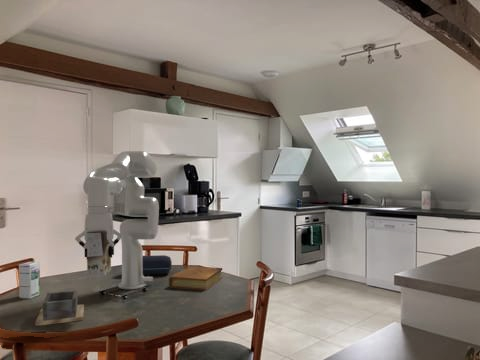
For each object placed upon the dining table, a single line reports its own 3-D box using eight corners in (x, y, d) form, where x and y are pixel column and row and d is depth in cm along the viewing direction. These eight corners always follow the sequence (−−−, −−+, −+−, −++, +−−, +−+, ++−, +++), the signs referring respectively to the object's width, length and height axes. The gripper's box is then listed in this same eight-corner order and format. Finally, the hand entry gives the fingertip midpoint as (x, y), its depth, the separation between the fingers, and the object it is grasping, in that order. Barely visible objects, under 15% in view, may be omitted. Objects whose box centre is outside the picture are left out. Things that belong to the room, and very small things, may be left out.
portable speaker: (172, 271, 208) (172, 253, 208) (170, 276, 198) (170, 257, 198) (126, 272, 206) (126, 254, 206) (121, 277, 196) (121, 258, 196)
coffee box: (105, 276, 136) (104, 232, 136) (86, 277, 136) (86, 232, 135) (111, 270, 145) (111, 228, 145) (94, 270, 145) (93, 228, 144)
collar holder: (84, 307, 148) (83, 288, 149) (82, 320, 134) (82, 299, 135) (41, 312, 143) (41, 293, 143) (35, 326, 129) (35, 304, 129)
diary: (188, 277, 198) (188, 266, 198) (222, 279, 193) (222, 268, 193) (168, 288, 176) (168, 276, 176) (206, 291, 171) (206, 278, 171)
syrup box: (30, 298, 160) (30, 264, 160) (18, 298, 161) (18, 264, 161) (40, 294, 166) (40, 261, 166) (28, 294, 167) (28, 261, 167)
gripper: (122, 208, 147) (123, 254, 147) (73, 210, 141) (74, 257, 141) (124, 210, 140) (124, 258, 140) (72, 212, 134) (73, 262, 134)
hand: (99, 257), depth 140 cm, fingers closed on coffee box, 7 cm apart
